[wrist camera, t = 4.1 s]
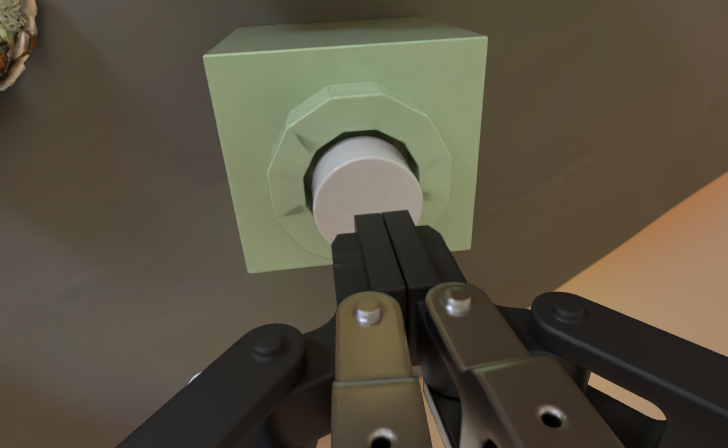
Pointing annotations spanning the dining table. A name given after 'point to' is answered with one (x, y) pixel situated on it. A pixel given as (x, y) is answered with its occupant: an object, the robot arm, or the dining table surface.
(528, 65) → the dining table surface
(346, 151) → the round grey push button
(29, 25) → the barbecue chicken platter
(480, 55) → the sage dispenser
